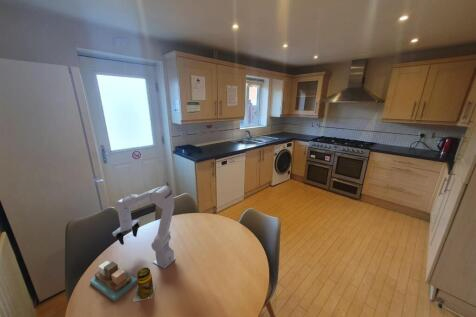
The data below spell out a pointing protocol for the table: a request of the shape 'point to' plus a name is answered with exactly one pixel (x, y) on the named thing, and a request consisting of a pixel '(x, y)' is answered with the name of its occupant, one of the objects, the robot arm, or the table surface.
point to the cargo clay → (118, 276)
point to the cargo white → (101, 267)
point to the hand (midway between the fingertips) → (128, 240)
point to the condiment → (144, 285)
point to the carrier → (107, 278)
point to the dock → (110, 292)
